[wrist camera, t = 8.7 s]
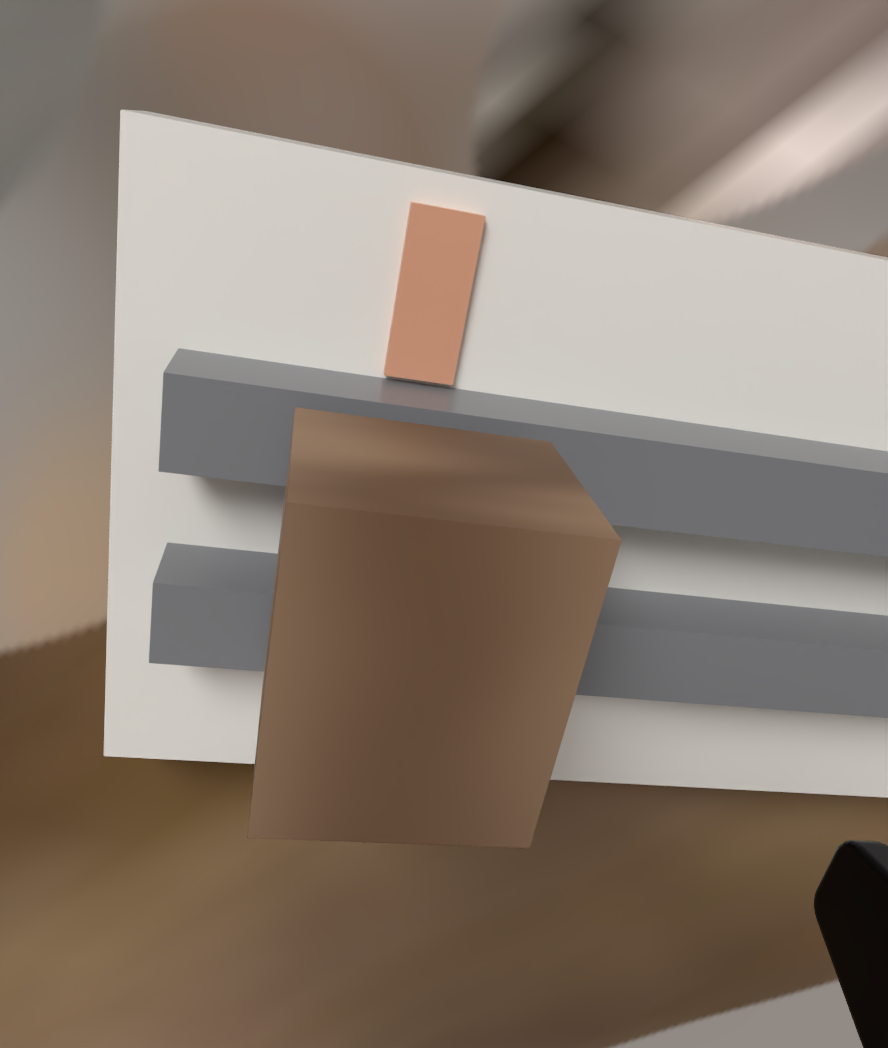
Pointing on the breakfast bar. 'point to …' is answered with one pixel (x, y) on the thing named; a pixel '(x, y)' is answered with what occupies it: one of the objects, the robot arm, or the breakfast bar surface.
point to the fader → (423, 633)
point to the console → (511, 410)
